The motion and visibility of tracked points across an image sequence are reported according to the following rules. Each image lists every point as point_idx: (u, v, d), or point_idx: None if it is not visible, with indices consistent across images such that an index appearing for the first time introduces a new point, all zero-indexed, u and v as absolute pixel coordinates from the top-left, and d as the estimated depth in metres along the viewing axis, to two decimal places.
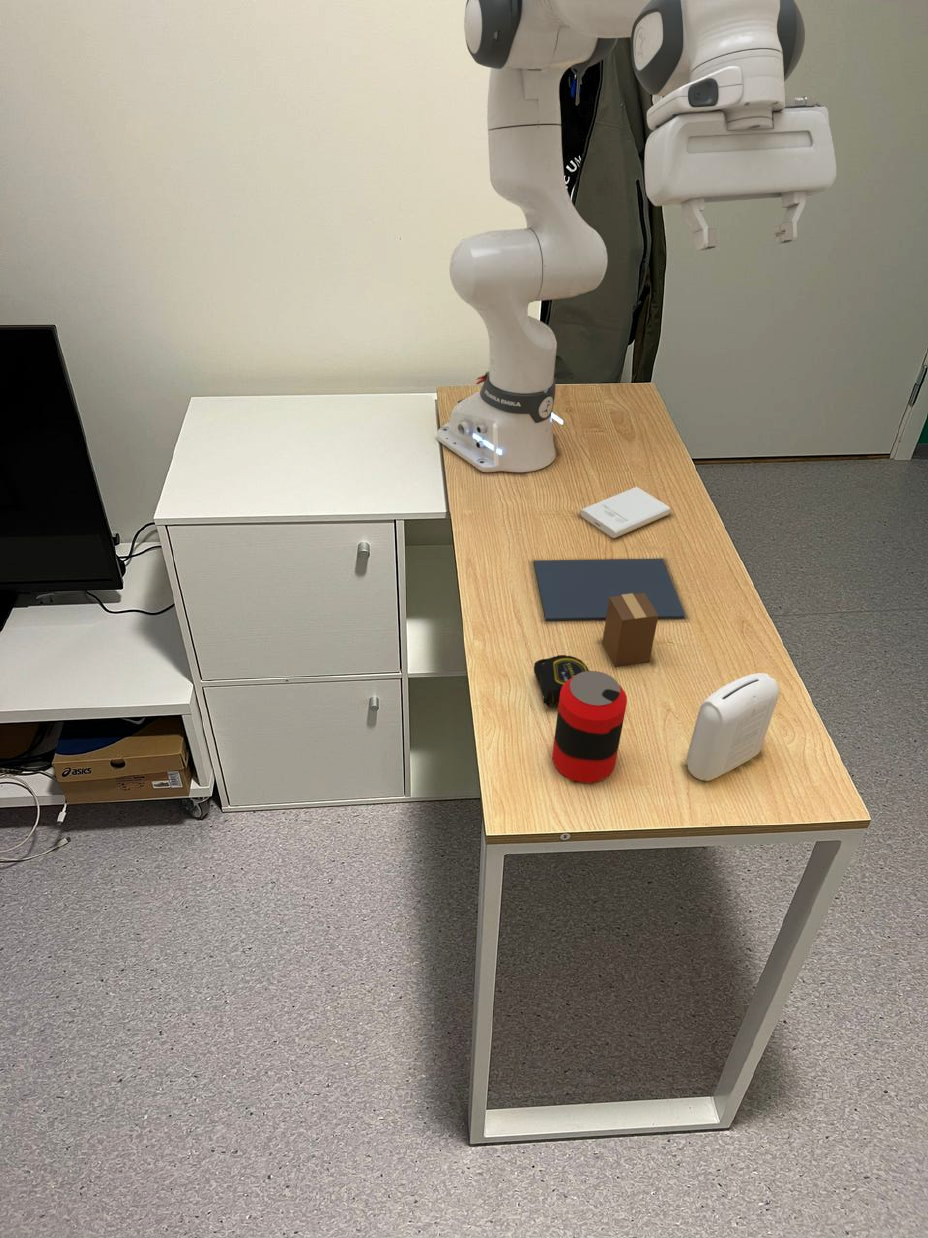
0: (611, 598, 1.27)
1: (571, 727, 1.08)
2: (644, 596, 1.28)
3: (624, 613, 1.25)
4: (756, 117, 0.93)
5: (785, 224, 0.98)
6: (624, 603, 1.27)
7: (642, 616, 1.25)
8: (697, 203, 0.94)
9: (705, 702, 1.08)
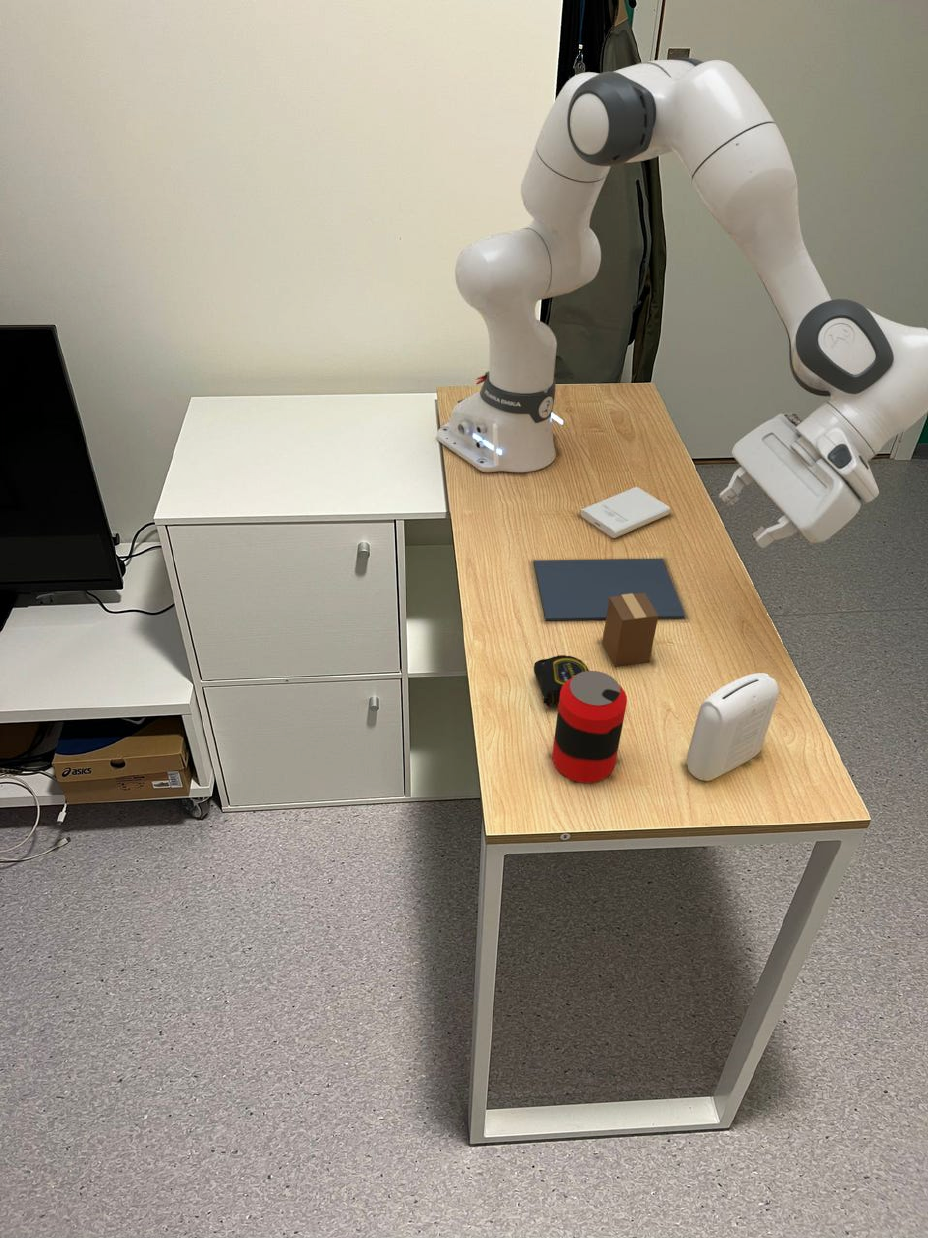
0: (611, 598, 1.27)
1: (571, 727, 1.08)
2: (644, 596, 1.28)
3: (624, 613, 1.25)
4: None
5: (738, 499, 1.24)
6: (624, 603, 1.27)
7: (642, 616, 1.25)
8: None
9: (705, 702, 1.08)
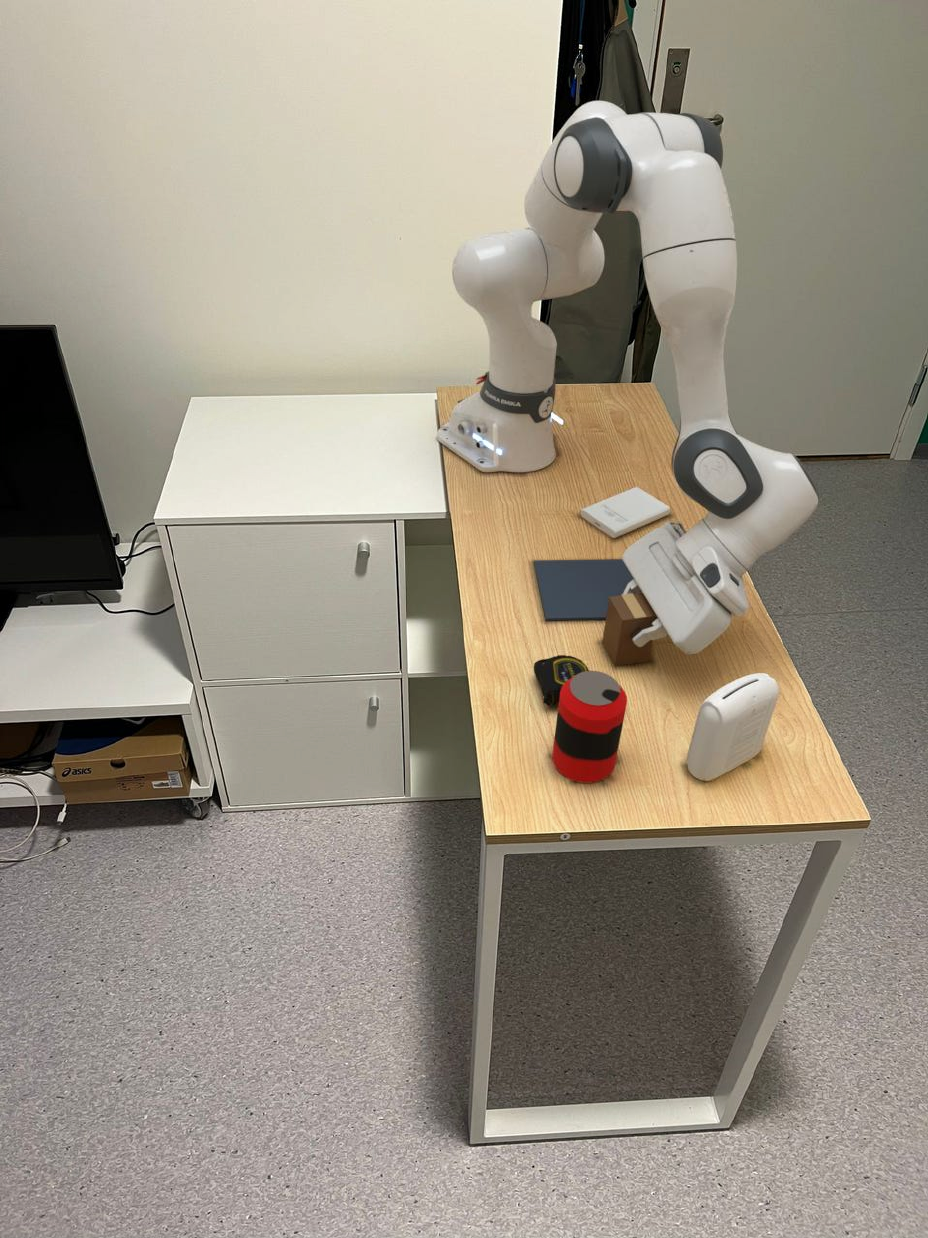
0: (611, 598, 1.27)
1: (571, 727, 1.08)
2: (644, 596, 1.28)
3: (624, 612, 1.25)
4: None
5: None
6: (623, 602, 1.27)
7: (642, 616, 1.25)
8: None
9: (705, 702, 1.08)
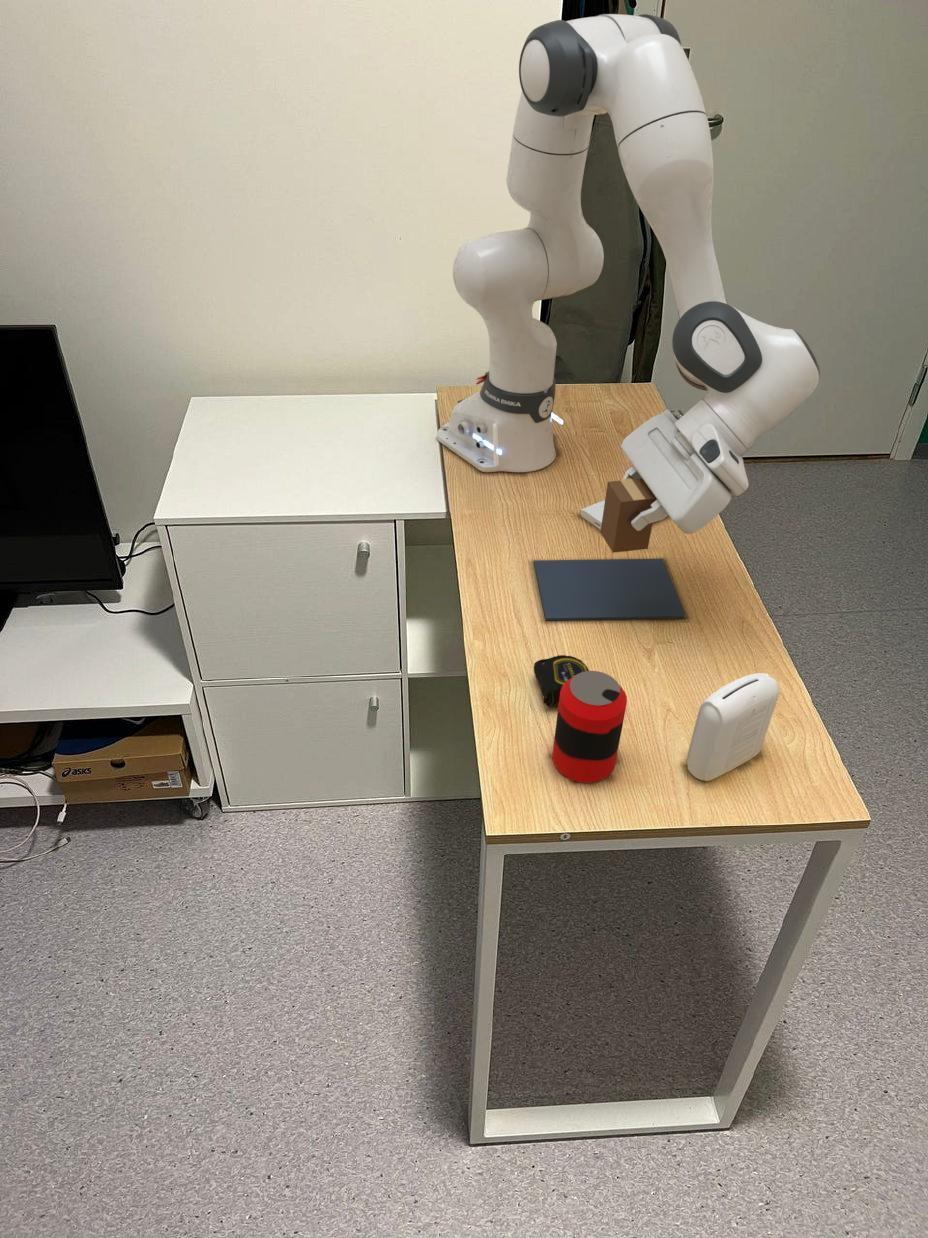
0: (609, 482, 1.26)
1: (571, 727, 1.08)
2: (643, 481, 1.27)
3: (623, 495, 1.24)
4: None
5: None
6: (622, 487, 1.26)
7: (641, 499, 1.23)
8: None
9: (705, 702, 1.08)
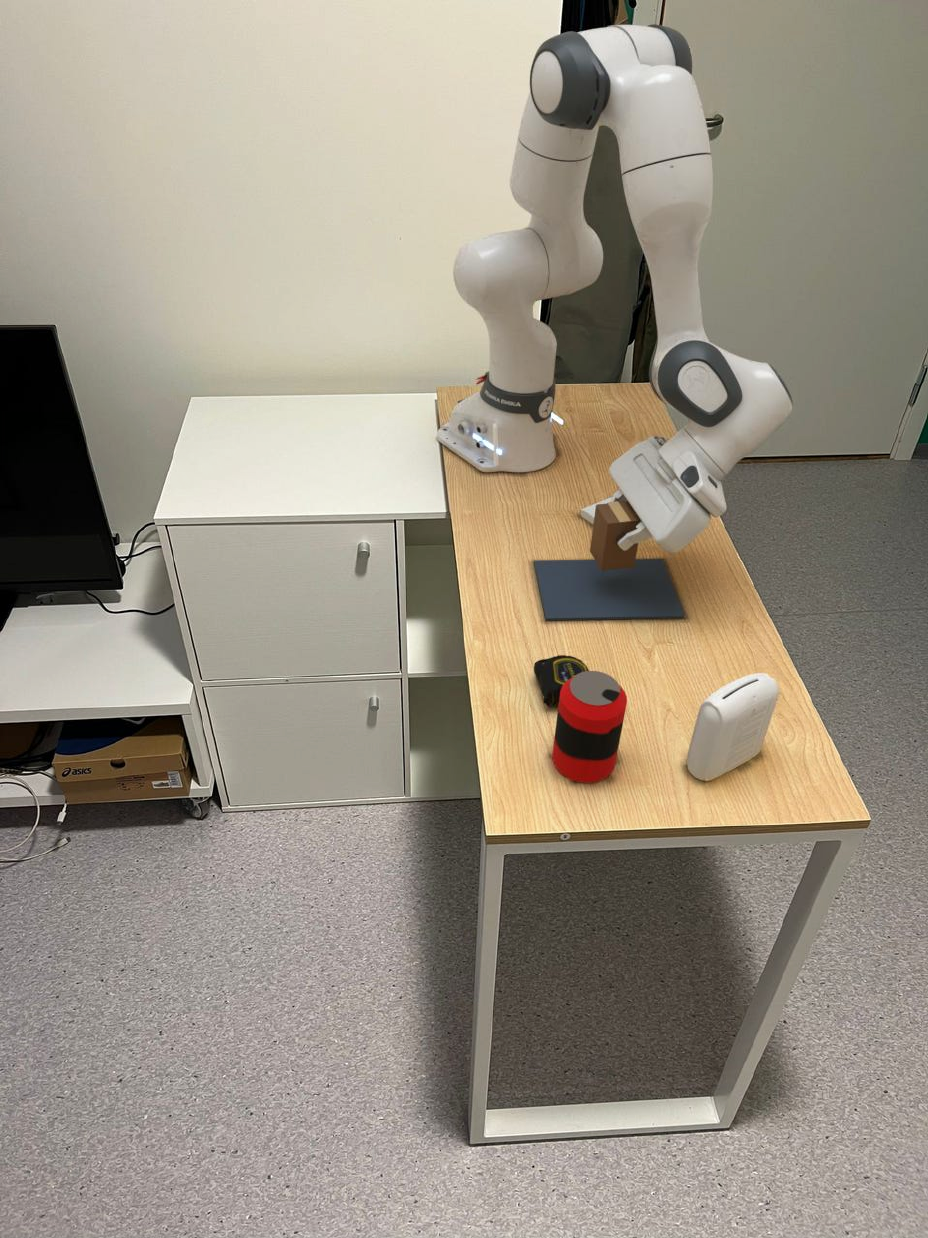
0: (597, 505, 1.35)
1: (571, 727, 1.08)
2: (629, 504, 1.35)
3: (610, 517, 1.32)
4: None
5: None
6: (609, 509, 1.34)
7: (626, 520, 1.32)
8: None
9: (705, 702, 1.08)
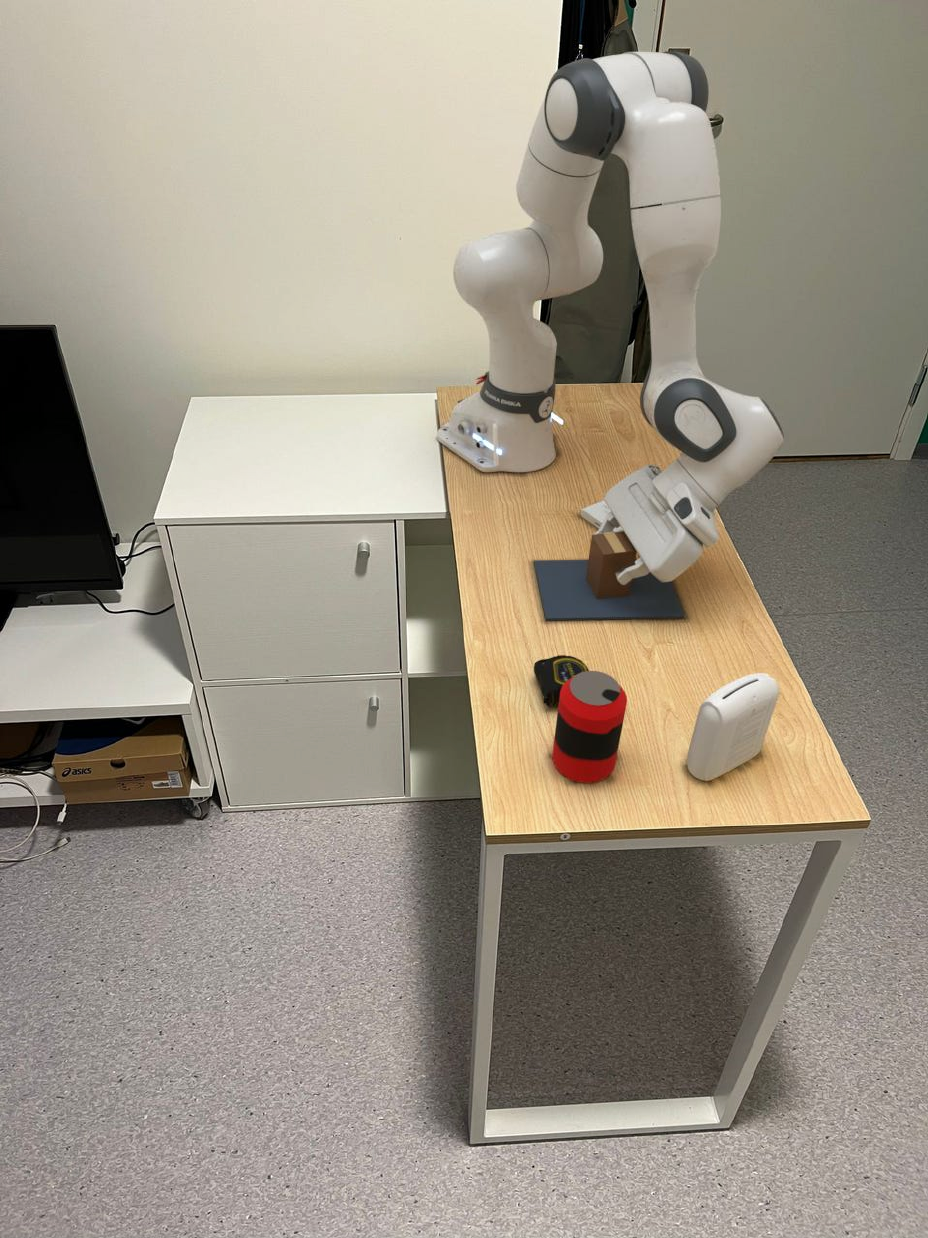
0: (593, 535, 1.38)
1: (571, 727, 1.08)
2: (624, 534, 1.38)
3: (605, 548, 1.36)
4: None
5: None
6: (605, 539, 1.37)
7: (622, 551, 1.35)
8: None
9: (705, 702, 1.08)
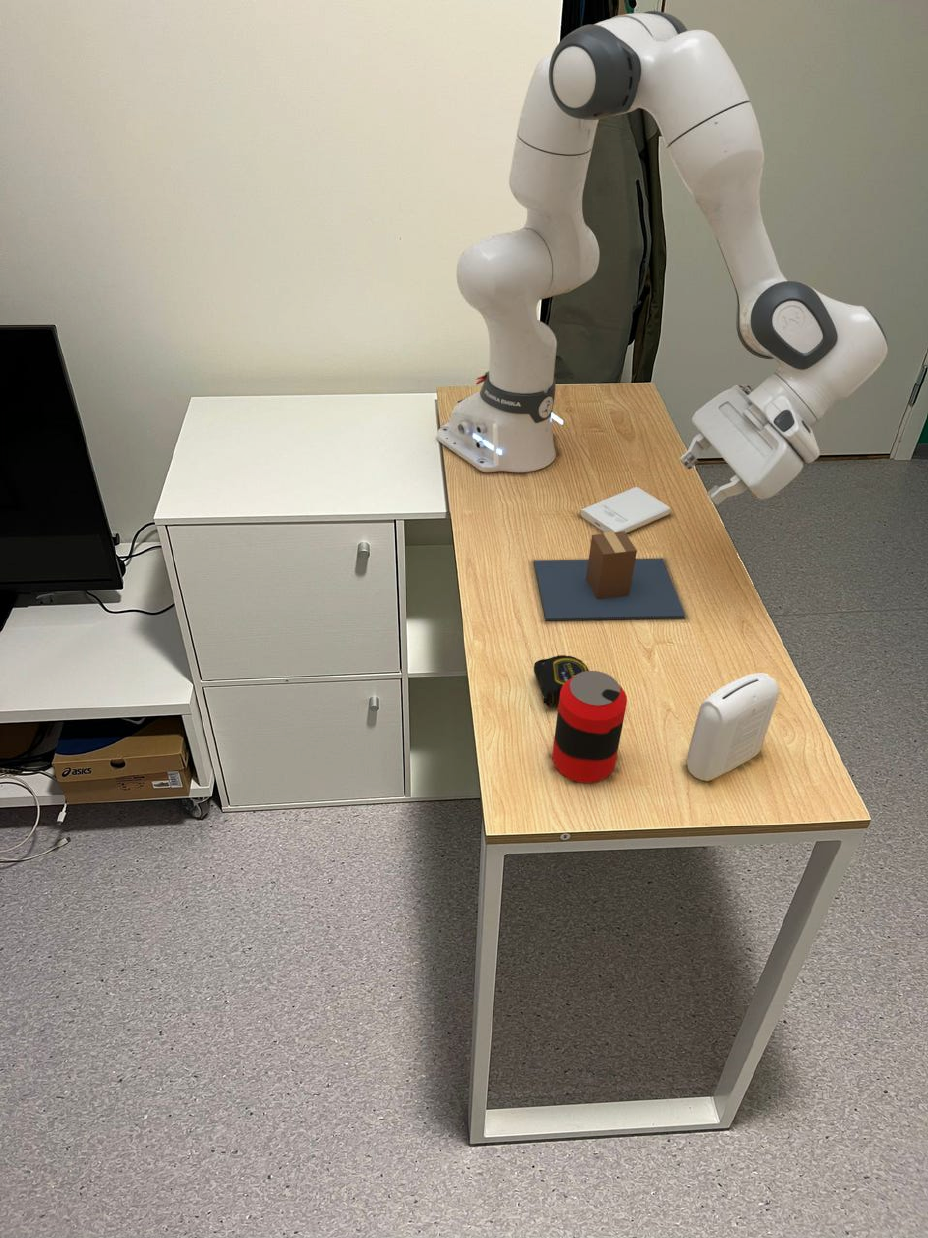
0: (593, 535, 1.38)
1: (571, 727, 1.08)
2: (624, 534, 1.38)
3: (605, 548, 1.36)
4: None
5: (697, 462, 1.37)
6: (605, 539, 1.37)
7: (622, 551, 1.35)
8: None
9: (705, 702, 1.08)
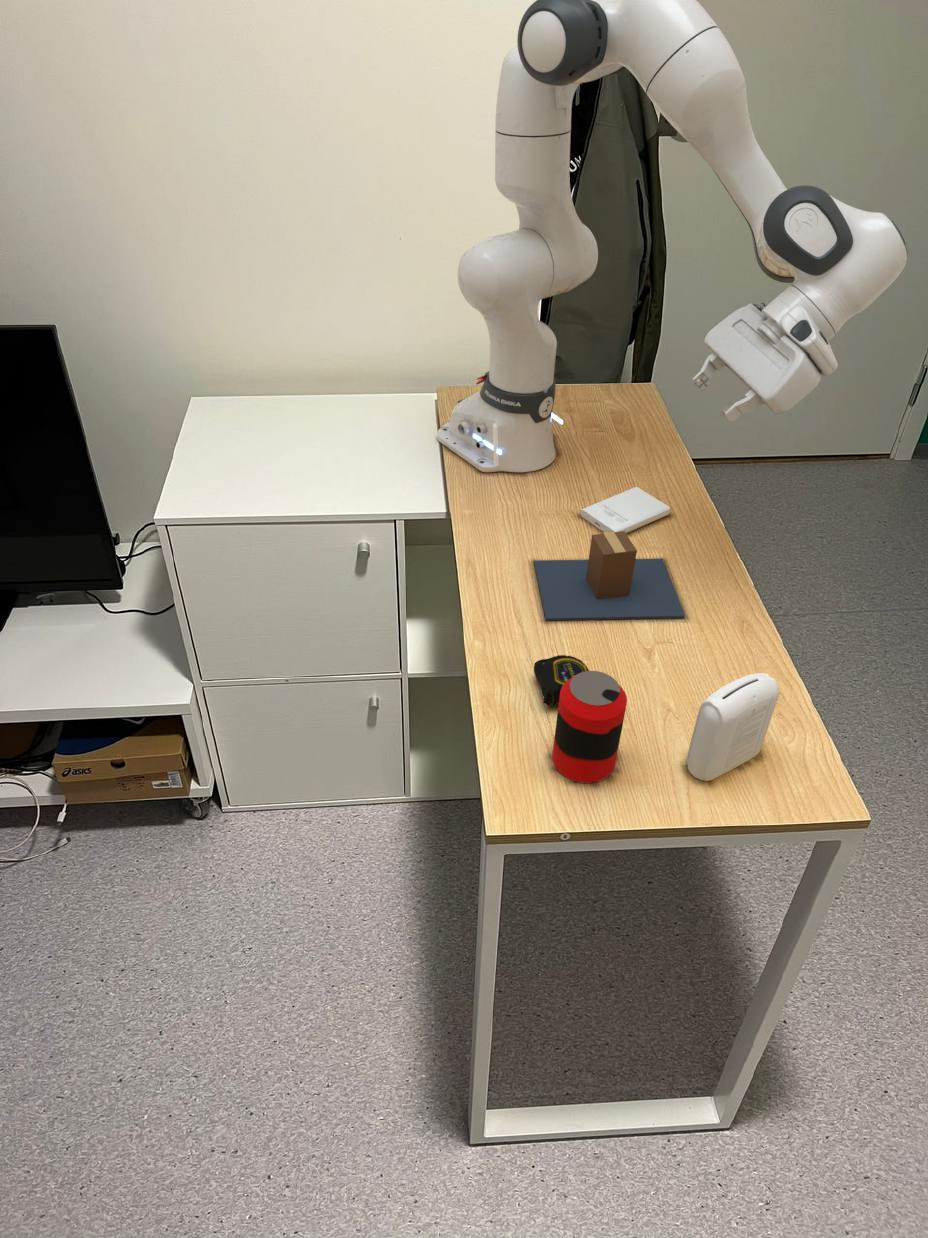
0: (593, 535, 1.38)
1: (571, 727, 1.08)
2: (624, 534, 1.38)
3: (605, 548, 1.36)
4: None
5: (710, 383, 1.33)
6: (605, 539, 1.37)
7: (622, 551, 1.35)
8: None
9: (705, 702, 1.08)
